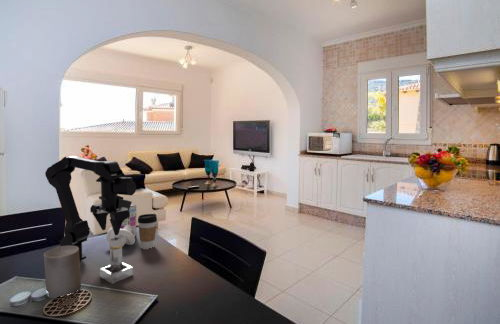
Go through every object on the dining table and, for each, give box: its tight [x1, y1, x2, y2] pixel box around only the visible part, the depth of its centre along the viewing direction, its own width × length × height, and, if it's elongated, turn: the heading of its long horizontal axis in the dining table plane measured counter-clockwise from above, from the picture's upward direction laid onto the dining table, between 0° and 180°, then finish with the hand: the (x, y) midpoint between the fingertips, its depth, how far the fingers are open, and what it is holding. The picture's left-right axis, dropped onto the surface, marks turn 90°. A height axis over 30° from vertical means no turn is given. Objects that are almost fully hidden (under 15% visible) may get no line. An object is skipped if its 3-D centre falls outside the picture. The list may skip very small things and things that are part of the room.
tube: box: [109, 237, 123, 273], centre depth 106 cm, size 4×4×13 cm
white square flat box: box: [99, 261, 134, 284], centre depth 106 cm, size 8×8×3 cm
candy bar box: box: [117, 204, 137, 238], centre depth 147 cm, size 11×5×16 cm, turn 62°
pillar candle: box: [43, 246, 82, 299], centre depth 95 cm, size 10×10×15 cm
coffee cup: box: [137, 213, 158, 250], centre depth 134 cm, size 8×8×15 cm
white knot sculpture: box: [106, 225, 136, 248], centre depth 135 cm, size 11×12×9 cm
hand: (110, 232), depth 115 cm, fingers open, 9 cm apart
